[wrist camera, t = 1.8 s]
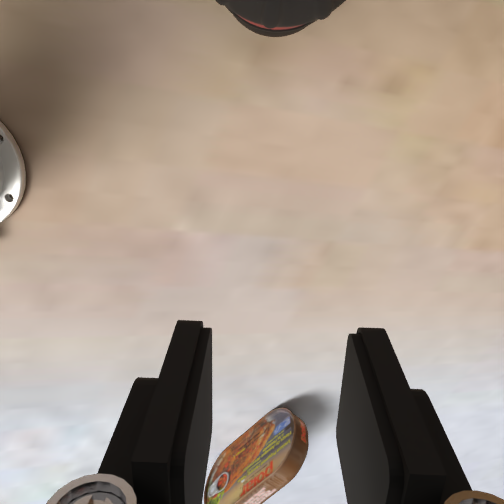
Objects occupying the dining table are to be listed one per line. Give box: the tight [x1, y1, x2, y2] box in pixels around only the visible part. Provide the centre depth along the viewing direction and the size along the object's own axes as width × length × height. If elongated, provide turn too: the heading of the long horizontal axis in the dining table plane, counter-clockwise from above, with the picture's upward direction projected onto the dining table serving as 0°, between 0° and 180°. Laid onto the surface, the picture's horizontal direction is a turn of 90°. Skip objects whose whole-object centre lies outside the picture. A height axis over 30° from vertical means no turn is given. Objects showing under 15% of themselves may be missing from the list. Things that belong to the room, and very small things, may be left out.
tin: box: [204, 408, 308, 504], centre depth 53 cm, size 15×3×8 cm, turn 138°
